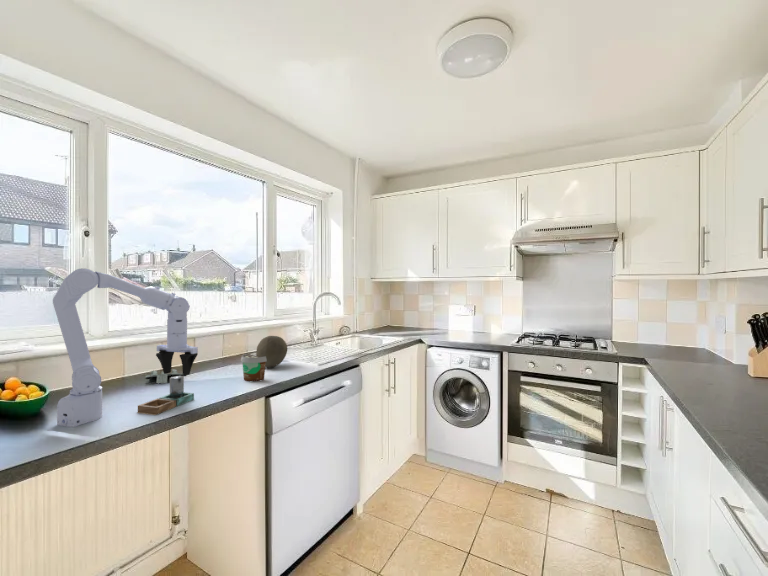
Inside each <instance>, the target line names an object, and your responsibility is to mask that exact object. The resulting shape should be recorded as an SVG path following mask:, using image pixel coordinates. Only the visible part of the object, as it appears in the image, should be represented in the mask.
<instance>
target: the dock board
mask: <svg viewBox="0 0 768 576" xmlns="http://www.w3.org/2000/svg"><path fill="white" fill-rule="evenodd" d="M193 400H195V394H194V392H184V396H183V397H181V398H178V399H173V398H170V393H169V394H166V395H163V396H161V397H158V398H155V399H151V400H149V401H147V402H144V403H141V404H138V405H137V412H136V414H143V415H151V416H156V415H159V414H162V413H163V412H167V411H169V410H171V409H174V408H176V407H179V406H181V405H184V404H186V403H189V402H191V401H193Z"/></svg>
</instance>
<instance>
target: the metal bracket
mask: <svg viewBox="0 0 768 576" xmlns="http://www.w3.org/2000/svg"><path fill="white" fill-rule="evenodd" d="M171 375H172V376H183V373H179V372H178V370H177V369H174V368H171V372H170V373H167V374H164V372H163V371H161V373H160V374H158V371H157V370H154V369H153V370H151V371H150V374H146V376H145V378H156V383H158V384H159V383H161V384H167V383H168V377H170V376H171ZM172 376H171V377H172Z"/></svg>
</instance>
